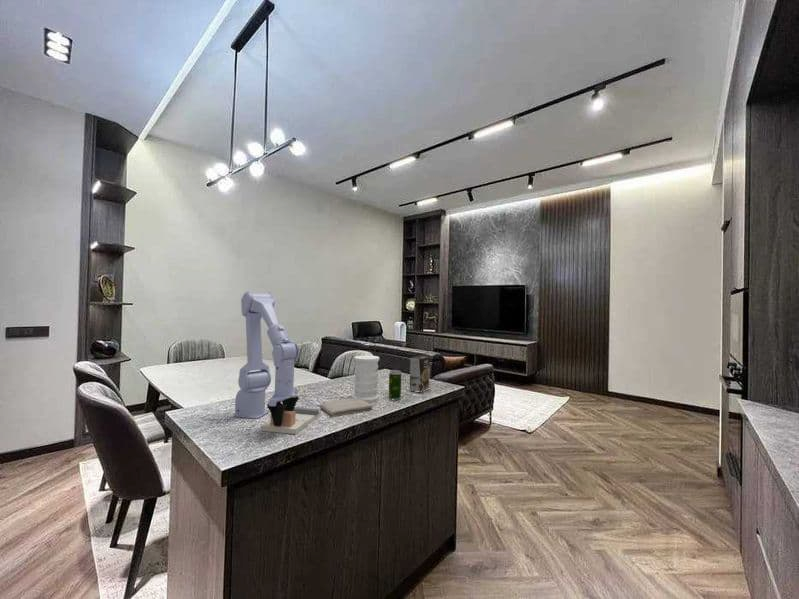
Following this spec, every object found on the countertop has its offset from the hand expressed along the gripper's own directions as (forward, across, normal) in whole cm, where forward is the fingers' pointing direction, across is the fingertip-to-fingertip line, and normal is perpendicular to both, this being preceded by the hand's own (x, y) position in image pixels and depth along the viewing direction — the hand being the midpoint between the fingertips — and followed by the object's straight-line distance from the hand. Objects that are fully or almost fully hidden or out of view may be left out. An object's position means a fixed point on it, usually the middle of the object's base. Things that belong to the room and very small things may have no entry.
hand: (282, 422), depth 110 cm
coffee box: (+2, +62, -37) cm, 72 cm away
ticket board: (+2, +10, 0) cm, 11 cm away
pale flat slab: (+2, 0, 0) cm, 2 cm away
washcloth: (+3, +25, -13) cm, 29 cm away
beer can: (+2, +45, -28) cm, 53 cm away
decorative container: (+2, +41, -16) cm, 44 cm away
